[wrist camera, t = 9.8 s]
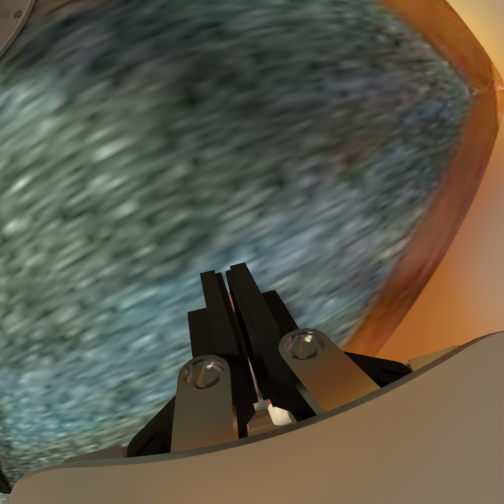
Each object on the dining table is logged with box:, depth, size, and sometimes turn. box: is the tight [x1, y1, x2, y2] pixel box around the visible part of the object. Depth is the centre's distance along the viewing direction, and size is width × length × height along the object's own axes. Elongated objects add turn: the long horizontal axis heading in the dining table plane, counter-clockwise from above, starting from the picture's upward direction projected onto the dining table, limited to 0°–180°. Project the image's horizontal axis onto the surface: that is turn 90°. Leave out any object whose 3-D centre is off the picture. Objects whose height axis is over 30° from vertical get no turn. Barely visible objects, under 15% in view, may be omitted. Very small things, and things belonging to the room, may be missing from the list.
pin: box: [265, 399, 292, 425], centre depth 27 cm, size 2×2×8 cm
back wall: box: [248, 409, 293, 436], centre depth 34 cm, size 2×13×2 cm, turn 99°
